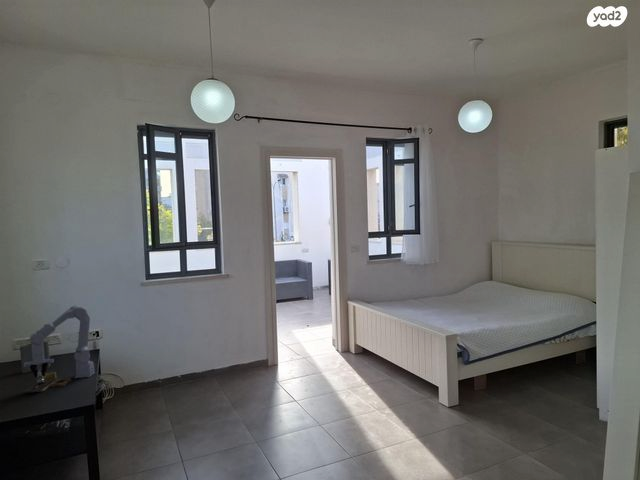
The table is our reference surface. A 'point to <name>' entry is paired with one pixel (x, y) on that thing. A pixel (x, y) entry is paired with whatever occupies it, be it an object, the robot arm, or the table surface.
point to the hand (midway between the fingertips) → (40, 376)
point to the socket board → (44, 387)
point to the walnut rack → (60, 382)
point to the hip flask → (27, 356)
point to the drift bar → (47, 380)
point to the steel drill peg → (40, 375)
